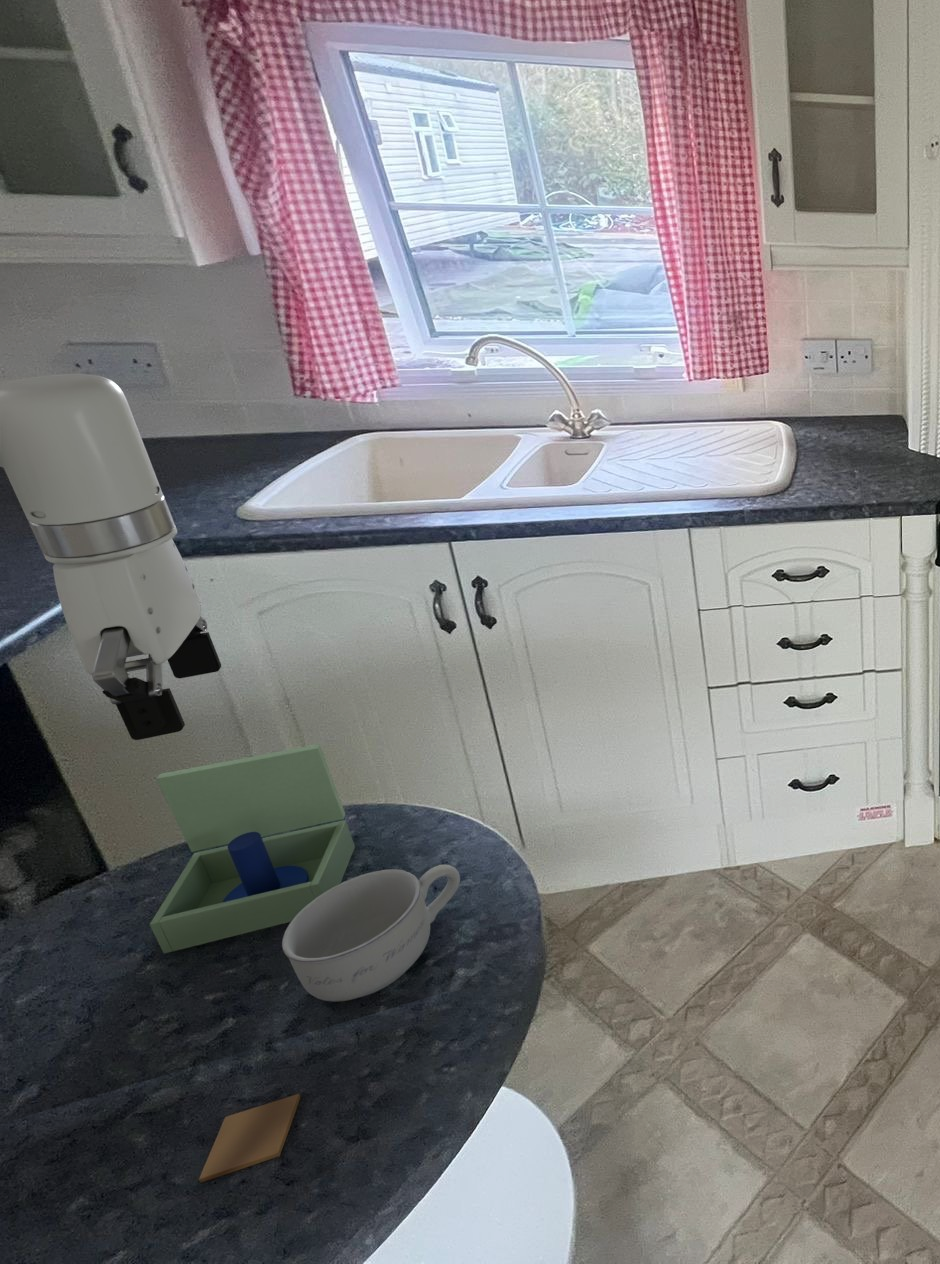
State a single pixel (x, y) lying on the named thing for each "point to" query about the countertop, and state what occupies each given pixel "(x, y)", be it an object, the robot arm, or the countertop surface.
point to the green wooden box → (213, 876)
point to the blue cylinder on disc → (259, 868)
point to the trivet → (250, 1137)
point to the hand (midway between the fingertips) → (180, 702)
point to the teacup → (364, 932)
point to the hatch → (252, 796)
